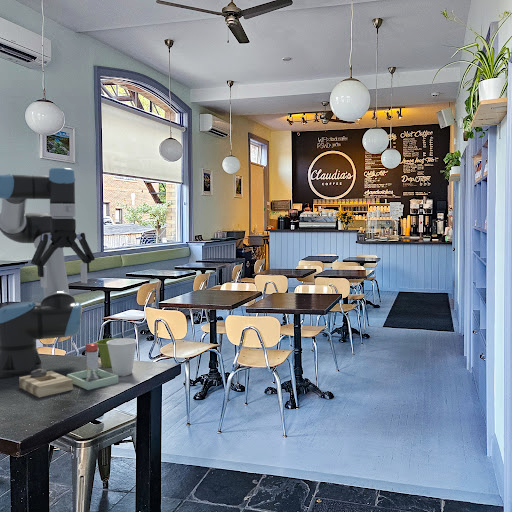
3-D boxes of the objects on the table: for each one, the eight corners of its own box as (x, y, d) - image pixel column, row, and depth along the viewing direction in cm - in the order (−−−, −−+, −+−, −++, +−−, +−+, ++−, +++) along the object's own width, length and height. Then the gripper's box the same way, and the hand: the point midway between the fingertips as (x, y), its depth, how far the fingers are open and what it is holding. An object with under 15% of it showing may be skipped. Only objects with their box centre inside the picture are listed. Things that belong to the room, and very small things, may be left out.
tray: (67, 384, 169) (66, 374, 169) (97, 377, 177) (96, 368, 176) (87, 393, 160) (87, 382, 160) (118, 385, 167) (118, 375, 167)
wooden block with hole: (19, 390, 163) (18, 371, 163) (51, 383, 170) (51, 365, 170) (39, 400, 153) (38, 380, 153) (72, 392, 161) (72, 373, 160)
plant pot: (115, 369, 186) (114, 344, 185) (91, 368, 188) (90, 343, 188) (129, 363, 195) (128, 339, 194) (105, 361, 197) (105, 337, 197)
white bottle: (84, 383, 168) (83, 344, 168) (95, 380, 171) (94, 342, 170) (90, 385, 166) (89, 346, 165) (100, 382, 168) (99, 344, 168)
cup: (130, 378, 174) (129, 345, 174) (101, 377, 176) (100, 344, 176) (142, 370, 184) (142, 338, 183) (115, 369, 186) (114, 337, 185)
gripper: (29, 218, 158) (31, 290, 160) (104, 217, 177) (105, 282, 179) (17, 218, 163) (20, 287, 165) (92, 217, 182) (93, 280, 184)
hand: (64, 285), depth 172 cm, fingers open, 13 cm apart
